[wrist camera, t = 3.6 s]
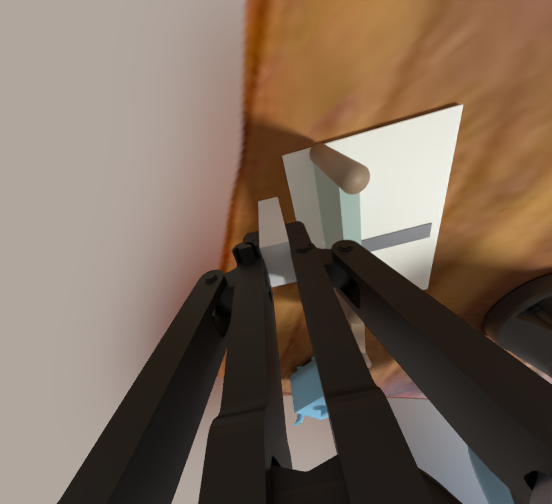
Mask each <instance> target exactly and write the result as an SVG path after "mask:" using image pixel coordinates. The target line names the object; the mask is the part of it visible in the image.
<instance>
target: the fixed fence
mask: <svg viewBox="0 0 552 504" xmlns="http://www.w3.org/2000/svg"><path fill="white" fill-rule="evenodd" d="M325 249H327V248H325ZM334 290H335V293H336V295H337V297H338V300H339V302H340V304H341V307H342V309H343V311H344V314H345V316H346V318H347V321H348V323H349V325H350V328H351V330H352V332H353V335H354V337H355V339H356V342H357V344H358V346H359V349H360V351H361V353H362V356H363V358H364V360H365V363H366V365H367V367H368V369H369V368H370V367H371V366H372V364H371V362H370V360H369V358H368V355H367V353H366V351H365V326H364V323H363V321H362V320H361V319H360V318H359V317H358V316H357V314H356V313H355V312H354V311H353V310H352V309H351V307H350V306H349V305H348V304H347V303H346V301H345V300H344V299H343V298H342V297H341V296H340V294H339V293H338V292H337V291H336V289H335V288H334Z"/></svg>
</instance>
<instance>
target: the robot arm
mask: <svg viewBox="0 0 552 504" xmlns="http://www.w3.org/2000/svg"><path fill="white" fill-rule="evenodd" d="M258 213H259V231H256V232H252V233H248V234H246V236H245V237H244V238H243V242H242V243H239V244H238V245H236V246H235V247H234V248H233V250H232V252H233V255H234V257H235V260H236V262H237V268H235V269H234V270H232V271H230V272H228V273H225V274H224V273H223V271H221V270H212V271H209V272H207V273H205V274H204V275H202V277H201V278H200V279H199V280H198V282H197V284H196V285H195V287H194V288H193V290H192V292H191V293H190V295H189V296H188V298H187V299H186V301H185V302H184V304H183V306H182V307H181V309H180V310H179V312H178V314H177V315H176V317H175V318H174V320H173V321H172V323H171V325H170V326H169V328H168V329H167V331H166V333H165V334H164V336H163V337H162V339H161V340H160V342H159V344H158V345H157V347H156V348H155V350H154V352H153V353H152V355H151V356H150V358H149V359H148V361H147V363H146V364H145V366H144V367H143V369H142V371H141V372H140V374H139V375H138V377H137V378H136V380H135V382H134V383H133V385H132V386H131V388H130V390H129V391H128V393H127V394H126V396H125V397H124V399H123V401H122V402H121V404H120V405H119V407H118V409H117V410H116V412H115V413H114V415H113V417H112V418H111V420H110V421H109V423H108V424H107V426H106V428H105V429H104V431H103V432H102V434H101V435H100V437H99V439H98V440H97V442H96V443H95V445H94V447H93V448H92V450H91V451H90V453H89V454H88V456H87V458H86V459H85V461H84V462H83V464H82V466H81V467H80V469H79V470H78V472H77V473H76V475H75V477H74V478H73V480H72V481H71V483H70V485H69V486H68V488H67V489H66V491H65V492H64V494H63V496H62V497H61V499H60V500H59V501H58V503H57V504H171V503H172V500H173V498H174V495H175V492H176V489H177V486H178V484H179V481H180V478H181V475H182V472H183V469H184V467H185V464H186V461H187V458H188V455H189V453H190V450H191V447H192V444H193V441H194V439H195V436H196V433H197V430H198V427H199V424H200V421H201V419H202V416H203V413H204V410H205V407H206V405H207V402H208V399H209V396H210V393H211V391H212V388H213V385H214V382H215V379H216V377H217V374H218V371H219V368H220V365H221V362H222V360H223V357H224V354H225V351H226V348H227V346H228V348H227V357H226V365H225V374H224V383H223V392H222V401H221V408H220V413H219V415H218V416H217V417H216V418H215V419H214V420H213V421H212V424H211V426H210V430H209V434H208V439H207V446H206V453H205V460H204V467H203V474H202V481H201V488H200V495H199V502H198V504H462V503H461V502H460V501H459V500H458V499H457V498H455V497H454V496H453V495H452V494H451V493H450V492H449V491H448V490H447V489H446V488H445V487H443V486H442V485H441V484H440V483H439V482H438V481H436V480H435V479H434V478H433V477H431V476H430V475H428V474H427V473H426V472H424V471H423V470H421V469H419V468H418V467H417V465H416V462H415V460H414V458H413V456H412V454H411V451H410V449H409V447H408V444H407V443H406V440H405V438H404V436H403V433H402V431H401V429H400V427H399V425H398V422H397V420H396V418H395V416H394V413H393V411H392V409H391V407H390V404H389V402H388V400H387V398H386V396H385V394H384V393H383V391H382V390H381V388H379V387H378V386H376V384H375V383H374V381H373V379H372V377H371V374H370V372H369V370H368V367H367V365H366V363H365V360H364V358H363V356H362V353H361V351H360V349H359V346H358V344H357V342H356V339H355V337H354V335H353V332H352V330H351V328H350V325H349V323H348V321H347V318H346V316H345V314H344V311H343V309H342V307H341V304H340V302H339V300H338V297H337V295H336V293H335V290H334V288H335V289H336V291H337V292H338V293H339V294H340V296H341V297H342V298H343V299H344V300H345V301H346V303H347V304H348V305H349V306H350V307H351V309H352V310H353V311H354V312H355V313H356V314H357V316H358V317H359V318H360V319H361V320H362V321H363V323H364V324H365V325H366V326H367V327H368V329H369V330H370V331H371V332H372V333H373V334H374V336H375V337H376V338H377V339H378V340H379V342H380V343H381V344H382V345H383V346H384V347H385V349H386V350H387V351H388V352H389V353H390V354H391V356H392V357H393V358H394V359H395V360H396V362H397V363H398V364H399V365H400V366H401V367H402V369H403V370H404V371H405V372H406V373H407V375H408V376H409V377H410V378H411V379H412V380H413V382H414V383H415V384H416V385H417V386H418V387H419V389H420V390H421V391H422V392H423V393H424V395H425V396H426V397H427V398H428V399H429V400H430V402H431V403H432V404H433V405H434V406H435V408H436V409H437V410H438V411H439V412H440V413H441V415H442V416H443V417H444V418H445V419H446V420H447V422H448V423H449V424H450V425H451V426H452V427H453V428H454V430H455V431H456V432H457V433H458V435H459V436H460V437H461V438H462V439H463V441H464V442H465V443H466V444H467V445H468V451H469V455H470V460H471V463H472V466H473V469H474V472H475V474H476V477H477V479H478V481H479V484H480V486H481V488H482V491H483V493H484V495H485V497H486V499H487V501H488V503H489V504H552V384H550V383H549V382H548V381H546V380H545V379H544V378H542V377H541V376H540V375H538V374H537V373H535V372H534V371H533V370H531V369H530V368H529V367H527V366H526V365H524V364H523V363H522V362H520V361H519V360H518V359H516V358H515V357H513V356H512V355H511V354H509V353H508V352H507V351H505V350H504V349H506V350H509V351H510V352H512V353H513V354H515V355H516V356H518V357H519V358H521V359H523V360H524V361H526V362H527V363H529V364H531V365H532V366H534V367H536V368H537V369H539V370H541V371H542V372H544V373H546V374H547V375H548V376H550V377H551V378H552V274H549V275H546V276H543V277H540V278H538V279H536V280H533V281H531V282H529V283H527V284H525V285H523V286H521V287H520V288H518V289H516V290H515V291H513V292H512V293H510V294H509V295H507V296H506V297H505V298H503V299H502V300H501V301H500V302H499V303H498V304H497V305H496V306H495V307H494V308H493V309H492V310H491V311H490V312H489V314H488V315H487V317H486V319H485V321H484V326H483V328H484V331H485V333H486V334H487V335H488V336H489V337H490V338H491V339H492V340H493V341H494V342H495V343H494V342H493V341H492V340H490V339H489V338H487V337H486V336H485V335H483V334H482V333H481V332H479V331H478V330H476V329H475V328H474V327H472V326H471V325H470V324H468V323H467V322H466V321H464V320H463V319H461V318H460V317H459V316H457V315H456V314H455V313H453V312H452V311H450V310H449V309H448V308H446V307H445V306H444V305H442V304H441V303H439V302H438V301H437V300H435V299H434V298H433V297H431V296H430V295H429V294H427V293H426V292H424V291H423V290H422V289H420V288H419V287H418V286H416V285H415V284H413V283H412V282H411V281H409V280H408V279H407V278H405V277H404V276H402V275H401V274H400V273H398V272H397V271H396V270H394V269H393V268H392V267H390V266H389V265H387V264H386V263H385V262H383V261H382V260H381V259H379V258H378V257H376V256H375V255H374V254H372V253H371V252H370V251H368V250H367V249H366V248H364V247H363V246H361V245H360V244H359V243H357V242H355V241H353V240H341V241H337V242H336V243H334V244H333V245H332V248H331V249H320V248H317V247H316V246H315V245H314V244H313V243H312V242H311V240H310V237H309V235H308V232H307V230H306V228H305V225H304V223H302V222H300V221H296V222H292V223H288V224H284V220H283V216H282V212H281V208H280V204H279V200H278V197H274V198H270V199H266V200H262V201H258ZM293 282H297V284H298V289H299V293H300V298H301V302H302V306H303V310H304V314H305V319H306V323H307V327H308V331H309V336H310V340H311V344H312V349H313V353H314V357H315V361H316V366H317V370H318V374H319V378H320V383H321V387H322V391H323V396H324V400H325V404H326V408H327V413H328V417H329V421H330V425H331V430H332V434H333V439H334V443H335V447H336V451H337V455H336V456H334V457H332V458H331V459H329V460H327V461H326V462H324V463H322V464H320V465H319V466H317V467H315V468H313V469H312V470H310V471H307V472H304V471H298V470H293V469H292V462H291V455H290V450H289V446H288V442H287V434H286V425H285V415H284V405H283V394H282V384H281V373H280V363H279V353H278V342H277V332H276V322H275V312H274V301H273V293H272V290H271V286H272V287H275V286H279V285H284V284H288V283H293ZM270 283H271V285H270ZM497 344H498V345H499V346H498V345H497ZM501 347H502V348H501ZM503 348H504V349H503Z"/></svg>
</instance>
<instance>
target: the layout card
mask: <svg viewBox="0 0 552 504" xmlns="http://www.w3.org/2000/svg"><path fill="white" fill-rule="evenodd" d="M462 109H463V104H459V105H456V106H452V107H449V108H445V109H442V110H438V111H435V112H431V113H428V114H424V115H421V116H418V117H414V118H411V119H407V120H404V121H400V122H397V123H393V124H390V125H386V126H383V127H379V128H376V129H372V130H369V131H366V132H362V133H359V134H355V135H352V136H348V137H345V138H341V139H338V140H334V141H331V142H327V143H324V144H325V145H327V146H329V147H330V148H332V149H334V150H336V151H338V152H340V153H342V154H344V155H345V156H347V157H349V158H351V159H353V160H355V161H357V162H359V163H361V164H362V165H364V166H366V167H367V168H368V170H369V172H370V180H369V183H368V185H367V186H366V188H365V189H364V190H363V191H361V192H360V216H361V244H362V246H363V247H364V248H366V249H367V250H368V251H370V252H371V253H372V254H374V255H375V256H376V257H378V258H379V259H381V260H382V261H383V262H385V263H386V264H387V265H389V266H390V267H392V268H393V269H394V270H396V271H397V272H398V273H400V274H401V275H402V276H404V277H405V278H407V279H408V280H409V281H411V282H412V283H413V284H415V285H416V286H418V287H419V288H420V289H422V290H425V289H428V284H429V279H430V274H431V269H432V263H433V258H434V253H435V248H436V243H437V238H438V233H439V227H440V222H441V217H442V212H443V207H444V202H445V196H446V191H447V186H448V181H449V176H450V171H451V166H452V160H453V155H454V150H455V145H456V140H457V135H458V129H459V124H460V119H461V114H462ZM311 148H312V147H310V148H307V149H303V150H300V151H296V152H293V153H289V154H286V155H282V159H283V163H284V168H285V172H286V177H287V181H288V186H289V190H290V195H291V199H292V204H293V208H294V213H295V217H296V221H300V222H302V223H304V225H305V228H306V230H307V232H308V235H309V237H310V240H311V242H312V243H313V244H314V245H315V246H316V247H317V248H320V249H325V248H326V246H325V241H324V234H323V227H322V221H321V214H320V207H319V200H318V194H317V187H316V180H315V174H314V167H313V162H312V161H311V159H310V156H309V153H310V150H311Z"/></svg>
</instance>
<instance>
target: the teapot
mask: <svg viewBox="0 0 552 504" xmlns="http://www.w3.org/2000/svg"><path fill="white" fill-rule="evenodd" d="M311 360H312V361H311V362H309V363H308V364H306V365H305V366H298V367H297V370H298V371H296V372H295V373H293V374H292V375H290V381H291V389H292V397H293V405H294V412H295V413H298V416H297V420H296V422H295V424H294V425H295V426H296V425H299V424H301V422H302V421H303V418H304V415H305V416H309V417H313V418H317V419H320V420H323V419H325V418H328V413H327V408H326V404H325V400H324V396H323V391H322V387H321V383H320V378H319V374H318V370H317V366H316V361H315V357H314V356H313V357H311Z"/></svg>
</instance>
